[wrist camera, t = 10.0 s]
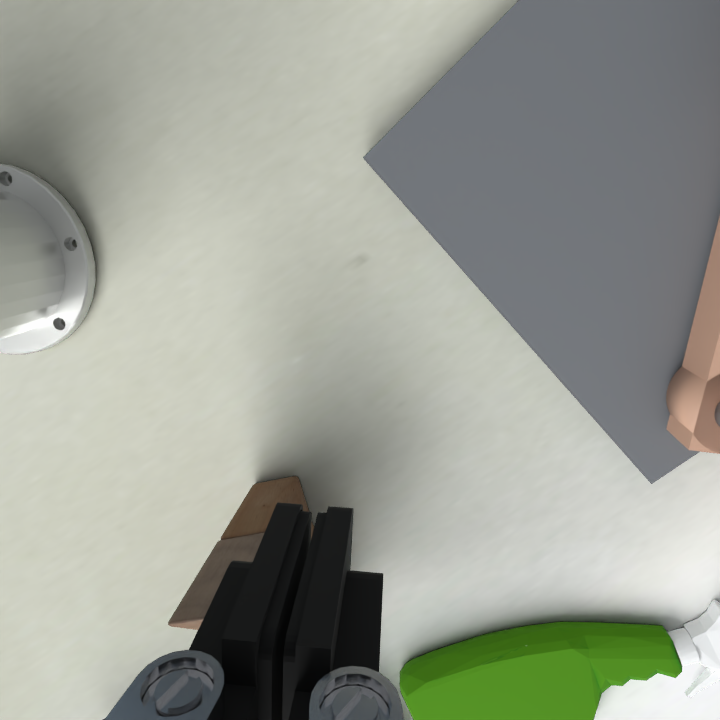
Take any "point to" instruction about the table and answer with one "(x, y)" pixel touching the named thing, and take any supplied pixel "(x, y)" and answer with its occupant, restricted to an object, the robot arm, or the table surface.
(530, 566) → the table surface
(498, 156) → the base board
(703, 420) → the link
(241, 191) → the table surface
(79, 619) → the table surface
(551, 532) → the table surface
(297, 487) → the wooden block
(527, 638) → the spray bottle
